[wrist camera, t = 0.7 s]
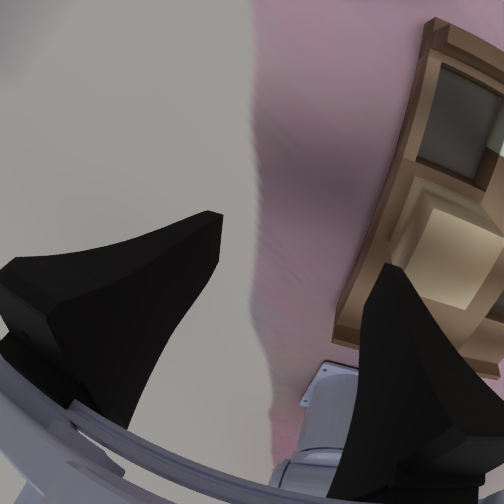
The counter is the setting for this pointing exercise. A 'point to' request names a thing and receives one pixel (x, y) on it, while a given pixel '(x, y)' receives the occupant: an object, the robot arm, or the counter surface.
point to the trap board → (444, 184)
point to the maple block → (444, 243)
